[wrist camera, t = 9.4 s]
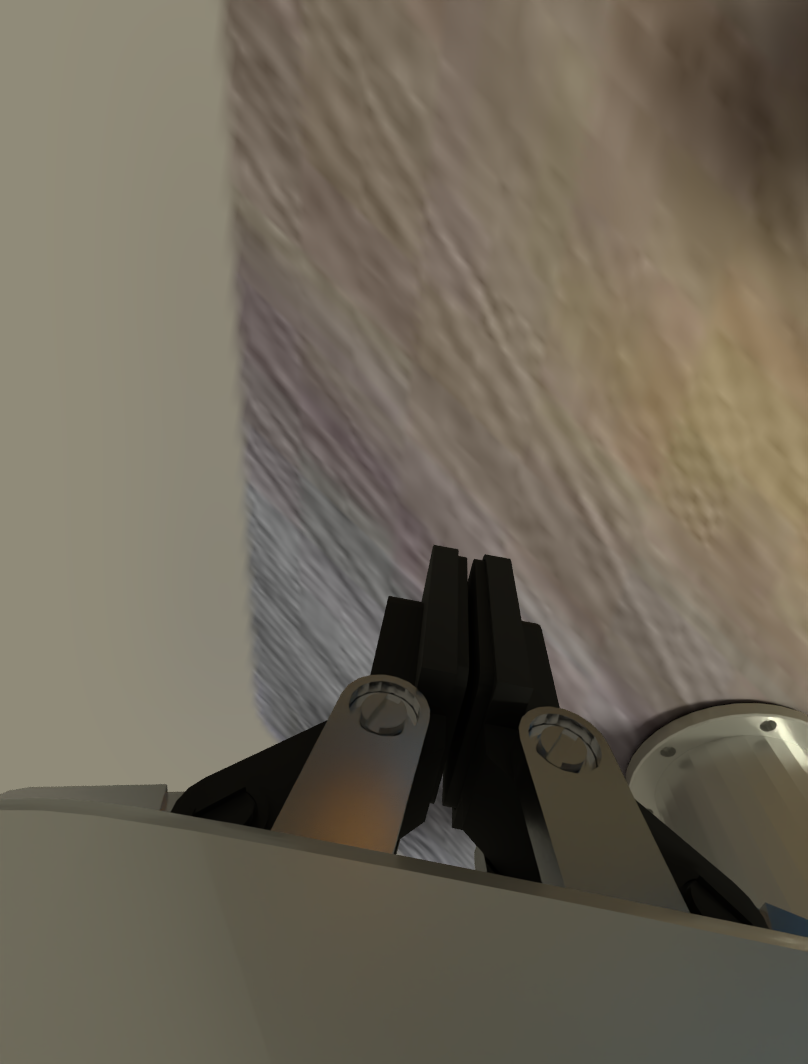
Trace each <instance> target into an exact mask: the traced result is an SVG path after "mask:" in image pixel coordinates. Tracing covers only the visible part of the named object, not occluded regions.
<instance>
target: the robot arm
mask: <svg viewBox="0 0 808 1064" xmlns="http://www.w3.org/2000/svg"><path fill="white" fill-rule="evenodd" d="M458 552H459V551H458V549H454V548H448V547H443V546H437V545H434V546H433V549H432V554H431V559H430V563H429V568H428V573H427V578H426V583H425V588H424V592H423V597H422V602H419V601H413V600H408V599H403V598H397V597H392V596H389V597H388V601H387V605H386V610H385V614H384V618H383V623H382V627H381V631H380V636H379V640H378V644H377V649H376V653H375V658H374V662H373V666H372V671H371V675H369V676H365V677H362V678H358V679H357V680H355V681H354V682H352V683H350V684H349V685H348V686H347V687H346V688H345V690H344V691H343V692H342V693H341V695H340V697H339V699H338V701H337V703H336V705H335V707H334V709H333V711H332V713H331V715H330V717H329V718H328V720H327V721H325V722H323V723H320V724H318V725H316V726H314V727H312V728H310V729H308V730H306V731H303V732H301V733H299V734H297V735H295V736H293V737H291V738H288V739H286V740H284V741H282V742H280V743H278V744H276V745H274V746H272V747H270V748H267V749H265V750H263V751H261V752H259V753H257V754H254V755H252V756H250V757H248V758H246V759H244V760H242V761H240V762H237V763H235V764H233V765H231V766H229V767H227V768H225V769H223V770H220V771H218V772H216V773H214V774H212V775H210V776H208V777H206V778H204V779H202V780H201V781H199V782H197V783H196V784H194V785H193V786H191V787H189V788H188V789H187V790H186V791H185V792H167V785H166V784H159V785H113V786H67V787H29V788H22V789H16V790H10V791H7V792H5V793H3V794H0V1064H808V715H806V714H804V713H802V712H799V711H796V710H793V709H789V708H786V707H782V706H777V705H769V704H761V703H735V704H728V705H721V706H714V707H710V708H707V709H703V710H699V711H696V712H692V713H690V714H688V715H685V716H683V717H681V718H678V719H676V720H674V721H672V722H670V723H669V724H667V725H666V726H664V727H662V728H661V729H659V730H657V731H656V732H655V733H654V734H653V735H651V736H650V737H649V738H648V739H647V740H646V741H645V742H643V743H642V745H641V746H640V747H639V749H638V750H637V751H636V752H635V754H634V755H633V757H632V759H631V761H630V763H629V765H628V768H627V771H626V777H625V778H624V776H623V774H622V771H621V769H620V767H619V765H618V763H617V761H616V759H615V757H614V755H613V753H612V751H611V749H610V747H609V745H608V743H607V742H606V740H605V739H604V737H603V736H602V734H601V733H600V732H599V731H598V730H597V729H596V728H595V727H594V726H593V725H592V724H591V723H590V722H588V721H587V720H585V719H583V718H582V717H580V716H579V715H577V714H575V713H572V712H570V711H568V710H565V709H561V708H560V707H559V703H558V699H557V694H556V690H555V686H554V681H553V677H552V672H551V668H550V664H549V659H548V655H547V651H546V646H545V642H544V638H543V633H542V629H541V627H540V625H539V624H536V623H530V622H525V621H522V620H521V615H520V609H519V603H518V598H517V592H516V586H515V581H514V575H513V569H512V563H511V560H510V559H507V558H502V557H497V556H491V555H486V554H485V555H484V557H483V560H477V559H474V560H473V563H472V567H471V571H470V575H469V579H468V580H467V558H466V557H461V556H458ZM442 774H443V794H442V803H443V806H447V807H452V828H456V829H461V830H463V831H464V832H465V833H466V834H467V835H468V836H469V838H470V839H471V840H472V841H473V842H474V843H475V844H476V849H475V852H474V859H475V870H472V869H467V868H462V867H456V866H451V865H446V864H441V863H436V862H431V861H426V860H421V859H416V858H411V857H406V856H400V855H396V854H397V851H398V847H399V843H400V839H401V838H402V837H403V836H405V835H406V834H408V833H409V832H410V831H412V830H413V829H415V828H416V827H418V826H419V825H420V824H422V823H423V822H425V818H426V815H427V811H428V807H429V804H430V803H432V804H434V802H435V799H436V796H437V792H438V789H439V785H440V781H441V778H442Z"/></svg>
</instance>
